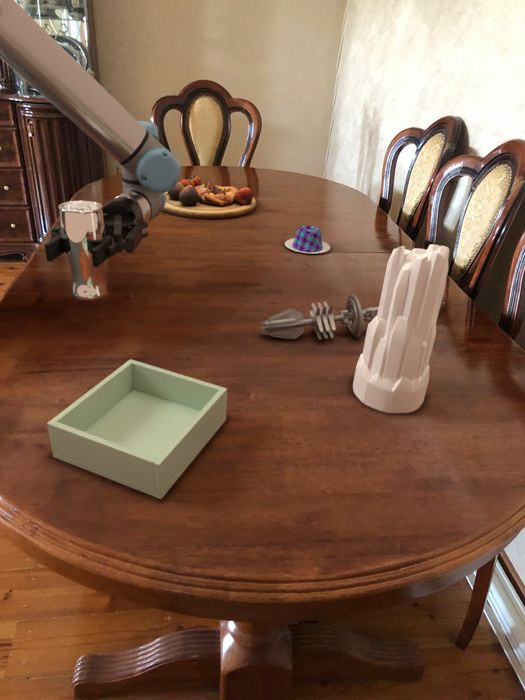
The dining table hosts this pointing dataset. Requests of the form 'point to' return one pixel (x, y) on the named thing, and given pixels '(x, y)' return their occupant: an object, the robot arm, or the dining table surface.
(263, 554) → the dining table surface
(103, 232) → the beer glass
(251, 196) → the wooden plate
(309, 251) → the pudding
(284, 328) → the spaceship
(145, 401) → the tub
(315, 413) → the dining table surface
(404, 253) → the decorative vase
